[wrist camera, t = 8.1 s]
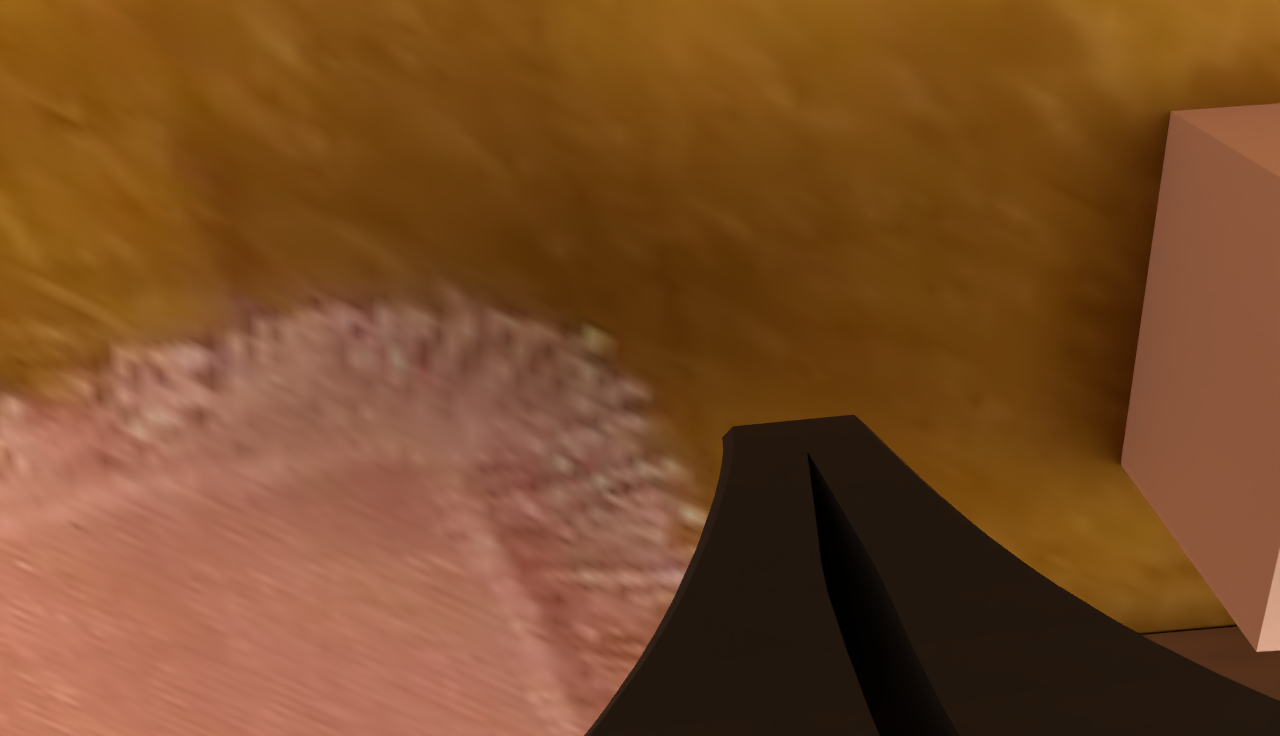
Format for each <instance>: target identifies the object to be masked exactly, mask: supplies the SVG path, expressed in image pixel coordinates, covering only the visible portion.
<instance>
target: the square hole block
mask: <svg viewBox="0 0 1280 736" xmlns="http://www.w3.org/2000/svg"><path fill="white" fill-rule="evenodd" d="M1142 636H1144V637H1146V638H1148V639H1150V640H1152V641H1154V642H1156V643H1158V644H1160V645H1162V646H1164V647H1166V648H1168V649H1170V650H1172V651H1174V652H1176V653H1178V654H1180V655H1182V656H1184V657H1186V658H1188V659H1190V660H1192V661H1194V662H1196V663H1198V664H1200V665H1202V666H1204V667H1206V668H1208V669H1210V670H1212V671H1214V672H1216V673H1218V674H1220V675H1222V676H1224V677H1227V678H1229V679H1231V680H1233V681H1236V682H1238V683H1240V684H1242V685H1245V686H1247V687H1249V688H1251V689H1254V690H1256V691H1258V692H1260V693H1263V694H1265V695H1267V696H1269V697H1272V698H1274V699H1277V700H1279V701H1280V650H1276V651H1260V652H1256V651H1255V649H1254V648H1253V646H1252V645H1251V644H1250V642H1249V641H1248V640H1247V638H1246V637H1245V635H1244V634H1243V633H1242V631H1241V630H1240V629H1239V627H1238V626H1237V627H1226V628H1215V629H1203V630H1192V631H1181V632H1170V633H1159V634H1148V635H1142Z"/></svg>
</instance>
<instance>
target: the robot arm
mask: <svg viewBox="0 0 1280 736" xmlns="http://www.w3.org/2000/svg"><path fill="white" fill-rule="evenodd" d="M722 439H723V460H722V466H721V472H720V477H719V481H718V485H717V488H716V492H715V496H714V500H713V503H712V506H711V509H710V512H709V515H708V517H707V520H706V523H705V526H704V529H703V532H702V535H701V538H700V541H699V543H698V546H697V548H696V551H695V553H694V555H693V557H692V560H691V562H690V564H689V566H688V568H687V571H686V573H685V575H684V577H683V579H682V582H681V584H680V586H679V588H678V590H677V593H676V595H675V597H674V599H673V601H672V603H671V605H670V607H669V609H668V610H667V612H666V614H665V616H664V618H663V620H662V622H661V623H660V625H659V627H658V629H657V631H656V632H655V634H654V636H653V637H652V639H651V641H650V642H649V644H648V646H647V647H646V649H645V651H644V652H643V654H642V656H641V657H640V659H639V660H638V662H637V664H636V665H635V667H634V668H633V670H632V671H631V672H630V674H629V675H628V677H627V678H626V680H625V681H624V682H623V684H622V685H621V687H620V688H619V690H618V691H617V693H616V694H615V695H614V697H613V698H612V700H611V701H610V703H609V704H608V705H607V707H606V708H605V710H604V711H603V712H602V714H601V715H600V716H599V717H598V719H597V720H596V721H595V723H594V724H593V725H592V727H591V728H590V729H589V730H588V732H587V733H586V734H585V735H584V736H1280V701H1279V700H1277V699H1274V698H1272V697H1269V696H1267V695H1265V694H1263V693H1260V692H1258V691H1256V690H1254V689H1251V688H1249V687H1247V686H1245V685H1242V684H1240V683H1238V682H1236V681H1233V680H1231V679H1229V678H1227V677H1224V676H1222V675H1220V674H1218V673H1216V672H1214V671H1212V670H1210V669H1208V668H1206V667H1204V666H1202V665H1200V664H1198V663H1196V662H1194V661H1192V660H1190V659H1188V658H1186V657H1184V656H1182V655H1180V654H1178V653H1176V652H1174V651H1172V650H1170V649H1168V648H1166V647H1164V646H1162V645H1160V644H1158V643H1156V642H1154V641H1152V640H1150V639H1148V638H1146V637H1144V636H1142V635H1141V634H1139V633H1137V632H1135V631H1133V630H1131V629H1130V628H1128V627H1126V626H1124V625H1122V624H1121V623H1119V622H1117V621H1115V620H1113V619H1112V618H1110V617H1109V616H1107V615H1105V614H1104V613H1102V612H1100V611H1099V610H1097V609H1095V608H1094V607H1092V606H1091V605H1089V604H1087V603H1086V602H1084V601H1082V600H1081V599H1079V598H1077V597H1076V596H1074V595H1073V594H1071V593H1069V592H1068V591H1066V590H1064V589H1063V588H1061V587H1059V586H1058V585H1056V584H1055V583H1053V582H1052V581H1050V580H1049V579H1047V578H1046V577H1044V576H1043V575H1041V574H1040V573H1038V572H1037V571H1035V570H1034V569H1033V568H1031V567H1030V566H1028V565H1027V564H1026V563H1024V562H1023V561H1021V560H1020V559H1019V558H1017V557H1016V556H1015V555H1013V554H1012V553H1011V552H1009V551H1008V550H1007V549H1005V548H1004V547H1002V546H1001V545H1000V544H998V543H997V542H996V541H994V540H993V539H992V538H990V537H989V536H988V535H987V534H985V533H984V532H983V531H982V530H980V529H979V528H978V527H977V526H975V525H974V524H973V523H972V522H971V521H969V520H968V519H967V518H966V517H965V516H964V515H962V514H961V513H960V512H959V511H958V510H957V509H955V508H954V507H953V506H952V505H951V504H950V503H948V502H947V501H946V500H945V499H944V498H943V497H941V496H940V495H939V494H938V493H937V492H936V491H935V490H933V489H932V488H931V487H930V486H929V485H928V484H927V483H926V482H925V481H923V480H922V479H921V478H920V477H919V476H918V475H917V474H916V473H915V472H914V471H913V470H912V469H911V468H910V467H908V466H907V465H906V464H905V463H904V462H903V461H902V460H901V459H900V458H899V457H898V456H897V455H896V454H895V453H894V452H893V451H892V450H891V449H890V448H889V447H888V446H887V445H886V444H885V443H884V442H883V441H882V440H881V439H880V438H879V437H878V436H877V435H876V434H875V433H874V432H873V431H871V430H870V429H869V428H868V427H867V426H866V425H865V424H864V423H863V422H862V421H861V420H860V419H858V418H857V417H856V416H855V415H846V416H836V417H825V418H815V419H805V420H795V421H785V422H774V423H764V424H754V425H744V426H733V427H732V428H731V429H730V430H729V431H728V432H727V433H726V434H725V435H724V436H723V437H722Z"/></svg>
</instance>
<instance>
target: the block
mask: <svg viewBox="0 0 1280 736" xmlns="http://www.w3.org/2000/svg"><path fill="white" fill-rule="evenodd" d="M1121 466H1122V467H1123V469H1124V470H1125V472H1126V473H1127V474H1128V476H1129V477H1130V478H1131V480H1132V481H1133V483H1134V484H1135V485H1136V487H1137V488H1138V489H1139V491H1140V492H1141V494H1142V495H1143V496H1144V498H1145V499H1146V500H1147V502H1148V503H1149V505H1150V506H1151V507H1152V509H1153V510H1154V511H1155V513H1156V514H1157V516H1158V517H1159V518H1160V520H1161V521H1162V522H1163V524H1164V525H1165V527H1166V528H1167V529H1168V531H1169V532H1170V533H1171V535H1172V536H1173V538H1174V539H1175V540H1176V542H1177V543H1178V545H1179V546H1180V547H1181V549H1182V550H1183V551H1184V553H1185V554H1186V556H1187V557H1188V558H1189V560H1190V561H1191V562H1192V564H1193V565H1194V567H1195V568H1196V569H1197V571H1198V572H1199V573H1200V575H1201V576H1202V578H1203V579H1204V580H1205V582H1206V583H1207V584H1208V586H1209V587H1210V589H1211V590H1212V591H1213V593H1214V594H1215V595H1216V597H1217V598H1218V600H1219V601H1220V602H1221V604H1222V605H1223V606H1224V608H1225V609H1226V611H1227V612H1228V613H1229V615H1230V616H1231V618H1232V619H1233V620H1234V622H1235V623H1236V624H1237V626H1238V627H1239V629H1240V630H1241V631H1242V633H1243V634H1244V635H1245V637H1246V638H1247V640H1248V641H1249V642H1250V644H1251V645H1252V646H1253V648H1254V649H1255V651H1256V652H1260V651H1276V650H1280V103H1274V104H1260V105H1247V106H1233V107H1219V108H1206V109H1192V110H1178V111H1171V114H1170V121H1169V128H1168V135H1167V142H1166V149H1165V156H1164V163H1163V170H1162V177H1161V184H1160V191H1159V198H1158V205H1157V212H1156V220H1155V227H1154V234H1153V241H1152V248H1151V255H1150V262H1149V269H1148V276H1147V283H1146V290H1145V297H1144V304H1143V311H1142V318H1141V325H1140V332H1139V339H1138V346H1137V353H1136V360H1135V367H1134V374H1133V381H1132V388H1131V395H1130V402H1129V409H1128V416H1127V423H1126V430H1125V437H1124V444H1123V451H1122V458H1121Z"/></svg>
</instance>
